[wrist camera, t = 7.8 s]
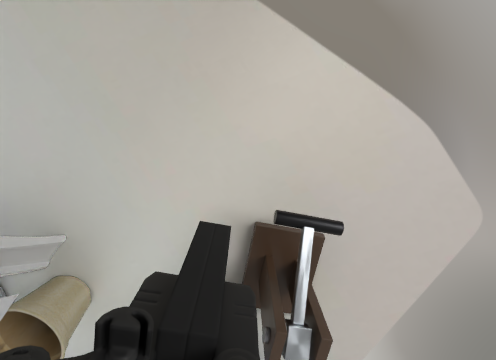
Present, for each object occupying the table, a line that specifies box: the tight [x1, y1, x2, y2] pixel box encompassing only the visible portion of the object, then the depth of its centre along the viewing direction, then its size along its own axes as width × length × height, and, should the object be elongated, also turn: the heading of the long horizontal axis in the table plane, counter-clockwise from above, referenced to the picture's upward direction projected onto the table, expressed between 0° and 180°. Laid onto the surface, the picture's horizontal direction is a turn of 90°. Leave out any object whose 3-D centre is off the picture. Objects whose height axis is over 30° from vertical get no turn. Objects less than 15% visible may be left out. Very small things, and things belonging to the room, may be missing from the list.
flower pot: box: [0, 276, 91, 360], centre depth 34 cm, size 9×9×9 cm
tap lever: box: [274, 210, 344, 360], centre depth 27 cm, size 13×7×2 cm, turn 169°
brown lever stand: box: [242, 222, 333, 360], centre depth 31 cm, size 12×9×14 cm
